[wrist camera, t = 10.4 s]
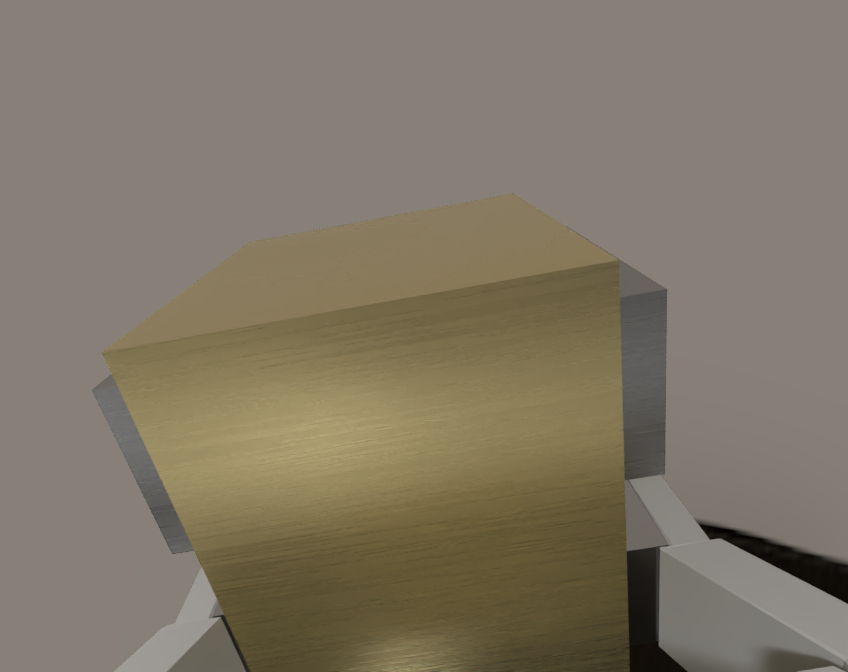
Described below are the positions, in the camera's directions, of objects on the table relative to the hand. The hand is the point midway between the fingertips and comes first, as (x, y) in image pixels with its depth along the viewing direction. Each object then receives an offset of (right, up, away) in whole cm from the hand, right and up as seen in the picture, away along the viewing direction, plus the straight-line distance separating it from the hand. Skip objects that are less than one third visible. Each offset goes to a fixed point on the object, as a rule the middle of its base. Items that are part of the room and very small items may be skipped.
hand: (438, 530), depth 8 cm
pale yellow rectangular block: (+1, -6, +1) cm, 6 cm away
